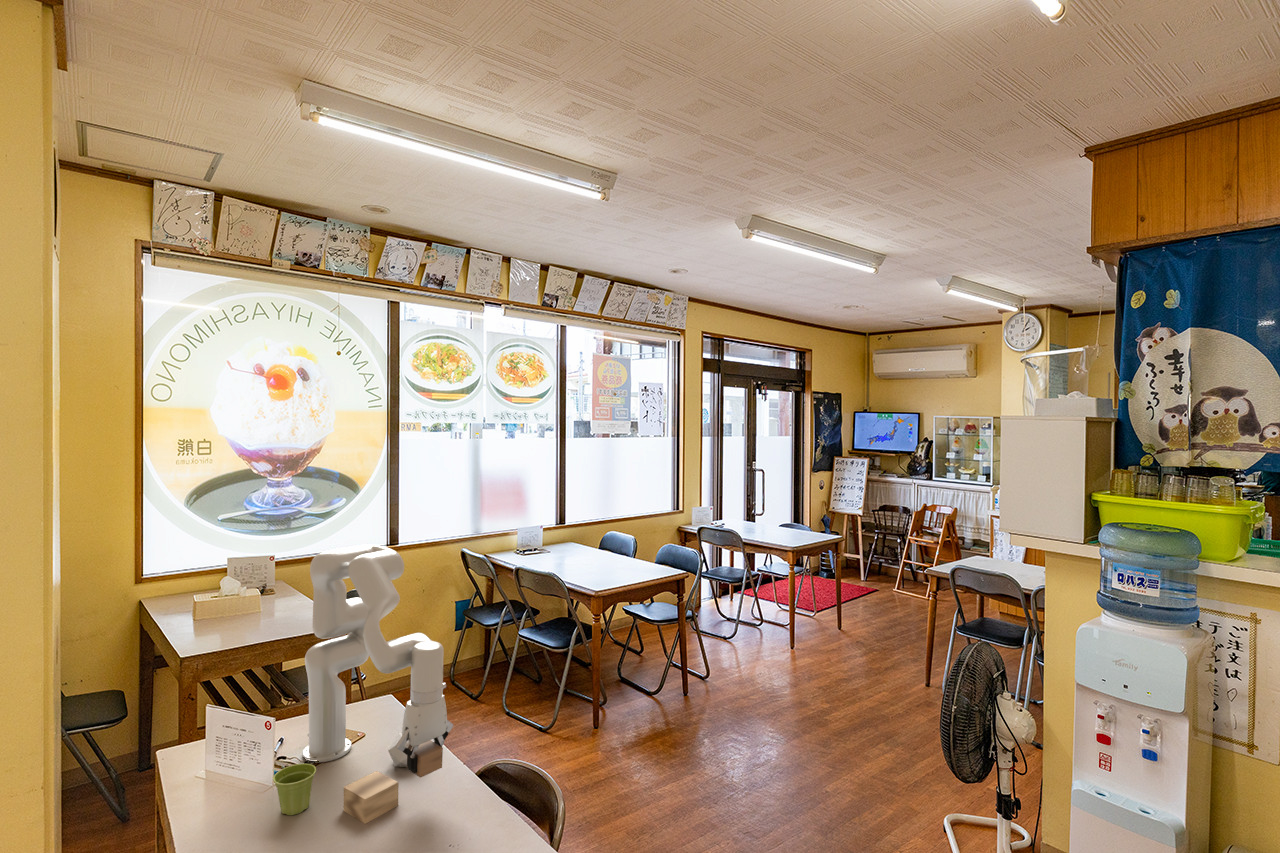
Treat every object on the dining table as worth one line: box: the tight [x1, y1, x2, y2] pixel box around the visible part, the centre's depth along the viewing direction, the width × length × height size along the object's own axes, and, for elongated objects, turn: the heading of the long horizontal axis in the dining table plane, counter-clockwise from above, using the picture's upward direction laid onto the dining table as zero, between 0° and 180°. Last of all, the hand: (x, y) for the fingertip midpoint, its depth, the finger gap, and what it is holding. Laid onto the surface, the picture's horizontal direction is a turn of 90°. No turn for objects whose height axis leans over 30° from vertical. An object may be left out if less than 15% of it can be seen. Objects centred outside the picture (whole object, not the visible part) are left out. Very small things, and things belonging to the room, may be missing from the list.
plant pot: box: [272, 763, 317, 816], centre depth 161 cm, size 9×9×9 cm
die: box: [387, 731, 409, 767], centre depth 182 cm, size 8×9×10 cm
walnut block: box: [406, 740, 444, 778], centre depth 163 cm, size 6×6×5 cm
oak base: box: [343, 770, 399, 824], centre depth 162 cm, size 9×9×6 cm
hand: (424, 764), depth 163 cm, fingers closed on walnut block, 6 cm apart
